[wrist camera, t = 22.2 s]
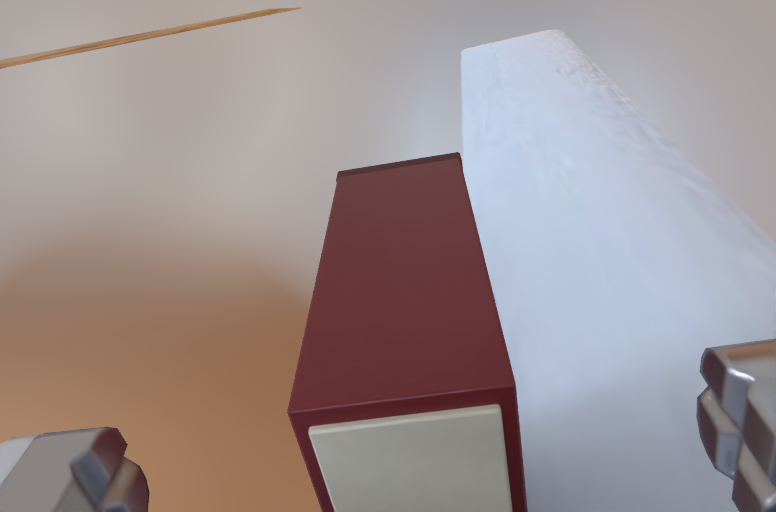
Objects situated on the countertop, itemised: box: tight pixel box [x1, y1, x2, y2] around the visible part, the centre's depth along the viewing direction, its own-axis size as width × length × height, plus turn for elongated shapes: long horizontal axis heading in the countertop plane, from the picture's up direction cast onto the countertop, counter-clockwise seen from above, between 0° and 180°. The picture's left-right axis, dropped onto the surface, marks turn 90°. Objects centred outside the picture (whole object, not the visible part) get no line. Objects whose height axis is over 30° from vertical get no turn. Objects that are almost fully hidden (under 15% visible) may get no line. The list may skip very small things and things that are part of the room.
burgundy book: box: [287, 152, 528, 512], centre depth 19 cm, size 4×11×14 cm, turn 179°
